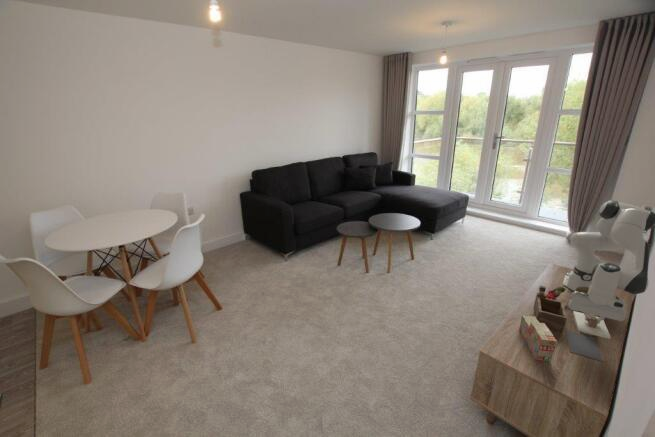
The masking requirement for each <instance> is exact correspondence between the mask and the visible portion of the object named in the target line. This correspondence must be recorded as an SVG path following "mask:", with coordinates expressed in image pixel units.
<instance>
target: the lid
mask: <svg viewBox="0 0 655 437" xmlns="http://www.w3.org/2000/svg"><path fill="white" fill-rule="evenodd" d="M572 314H573V318H574V321H575V326H576V329H577V331H578V332H581V333H582V332H585V333H589V334H593V335H592V336H598V337H599V338H600V337H601V338H604V339H608V340H611V334H610V333H609V332H610V331H609V330H608V328H607V325H606V322H605V319H604V320H602V321H600V323H599V324H598V321H597V319H598V318H599V317H600V316H598V317H596V316H595V315H593V314H589V313H588V315H587V316H589V318H590V319H589V321H586V320H585V319H584V318H585V315H584V312H581V311H577V310H573V312H572ZM596 318H597V319H596Z"/></svg>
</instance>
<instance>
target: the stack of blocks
mask: <svg viewBox="0 0 655 437" xmlns="http://www.w3.org/2000/svg"><path fill="white" fill-rule="evenodd" d="M518 330H519V332H520V333H521V334H520V335H521V336H522V337H523V339H524V341H525V343H526V345H527V346H528V348H529V349H530V351H531V354H532V356H533V358H534V359H535V360H536V361H540V362H550V363H551V361H552V359H553V355H554V352H555V348H556V346H557V342H558V341H557V339H556V338H555V336H554V334H553V333H552V331H551V329H548V328H547V326H546V325H545V323H539V322H538V320H537V319H536V317H534V316H532V315H521V319H520V324H519V329H518Z"/></svg>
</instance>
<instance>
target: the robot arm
mask: <svg viewBox="0 0 655 437" xmlns="http://www.w3.org/2000/svg"><path fill="white" fill-rule="evenodd" d="M599 208H600V209H599V213H598V215H599V217H600V219H599V220H598V221H597V222H596V225H595V228H596V230H597V231H579V232H573V233H572V234H571V235H570V237H569V243H570V245H571V246H572V247H573V248H574V249H575V251H576V252H577V259H576V264H575V266H574V267H573V270H570V272H566V274H565V275H564V276H563V277H564V278H563V282H562V285H563V287H565V288H566V287H567V288H569V289H570V290H572V292H571V293H570V295H569V300H568V303H567V306H568V308H569V309H570V310H573V311H576V312H580V313H584V315H585V318H584V319H585V320H586V321H589V319H590V318H589V316H587V315H588V313H589V314H593V315H597V316H598V317H599V318H598V319H597V318H596V319H597V321H598V324H599V323H600V321H602V320H604V321H605V319H610V320H615V321H620V322H623V321H625V320H626V317H627V316H626V315H627V309H626V308H627V304H626V301H625V300H624V299H623V298H622V297H621V296H619V295H617V294H616V290H617V289H619V290H622V291H624V292H626V293H629V294H632V295H639V294H642V293H645V292H646V291H647V290H648V287H649V277H648V276H649V275H648V274H649V273H648V272H649V264H650V263H649V261H650V244H649V242H648V241H646V240H645V238H644V232H646V231H648V230H651V229H652V228H653V227H655V212H653V211H651V210H647V209H645V208H643V207H640V206H637V205H634V204H630V203H626V202H620V201H618V200H613V199H612V200H611V199H610V200H607V201H605V202H604V203H603V204H602V205H601V206H600V207H599ZM620 248H623V249H625V250H626V251H628V252H630V253H632V254H633V255H634V256H635V269H634V270H633V269H632V270H631V269H626V268H624V267H621V266H619V265H618V264H616V263H613V262H607V261H606V262H602V260H601V258H600V257H599V256H597V255H596V254H595V252H596V251H600V252H601V251H604V252H605V251H606V252H609V251H617V250H619V249H620ZM577 287H589V291H588V294H586V293H580V292H575V289H576V288H577Z"/></svg>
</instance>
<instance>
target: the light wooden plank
mask: <svg viewBox="0 0 655 437" xmlns="http://www.w3.org/2000/svg"><path fill="white" fill-rule="evenodd" d="M546 289H547V288H546V286H543V285H538V292H539V293H542V294H546V293H545V292H546Z"/></svg>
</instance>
